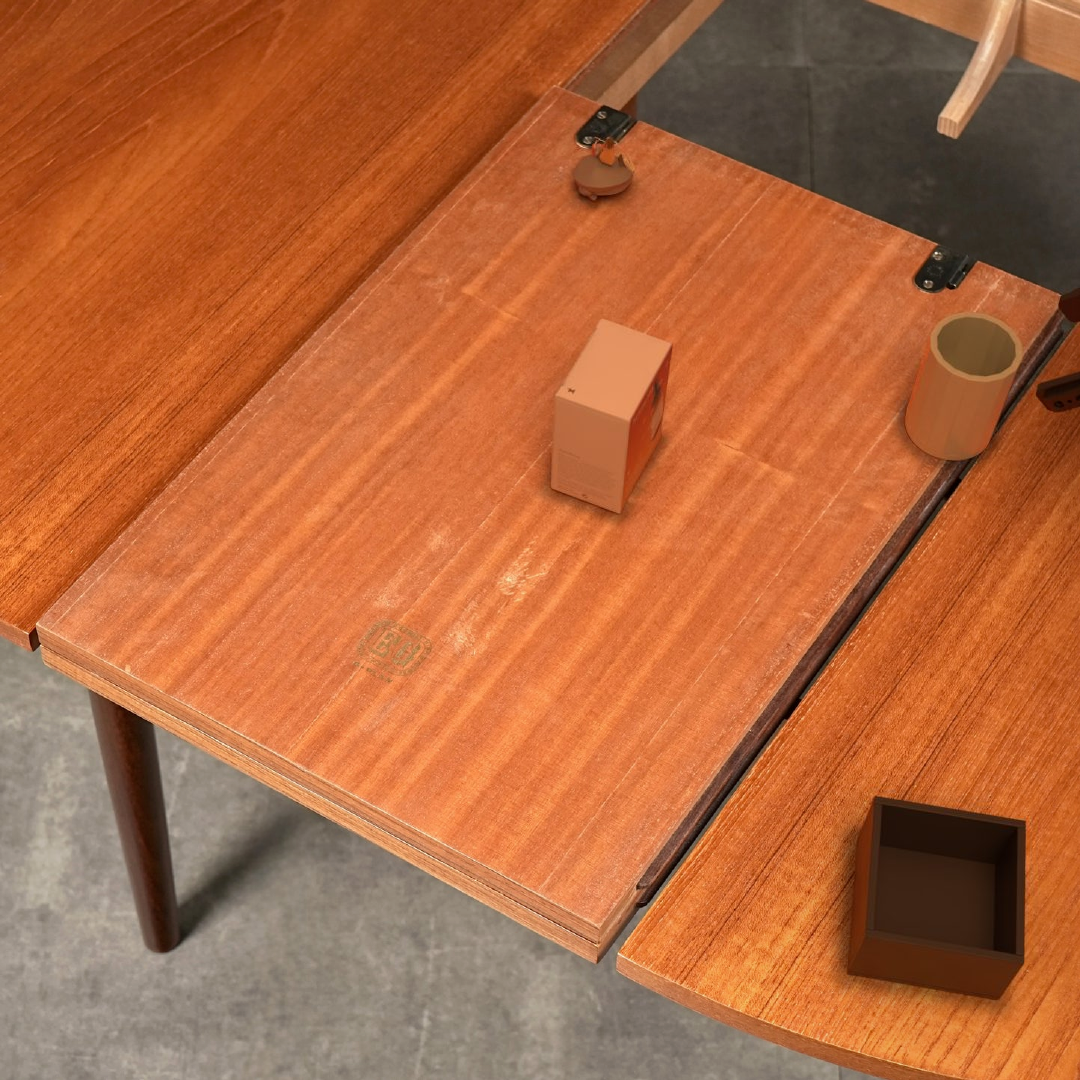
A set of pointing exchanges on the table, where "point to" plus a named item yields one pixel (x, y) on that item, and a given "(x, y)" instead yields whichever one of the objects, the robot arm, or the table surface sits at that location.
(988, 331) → the tumbler
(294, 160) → the table surface
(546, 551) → the table surface
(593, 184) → the figurine
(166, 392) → the table surface
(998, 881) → the basket
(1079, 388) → the robot arm
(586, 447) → the small box
